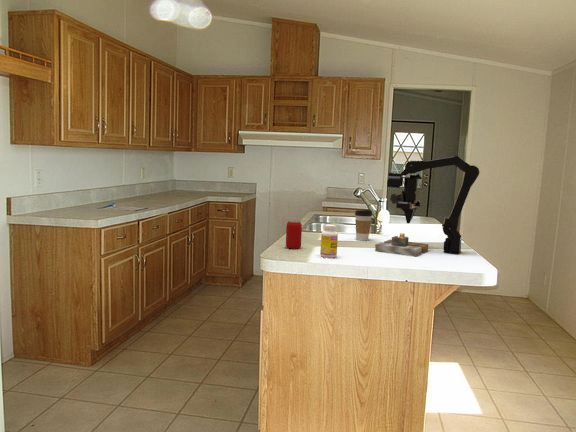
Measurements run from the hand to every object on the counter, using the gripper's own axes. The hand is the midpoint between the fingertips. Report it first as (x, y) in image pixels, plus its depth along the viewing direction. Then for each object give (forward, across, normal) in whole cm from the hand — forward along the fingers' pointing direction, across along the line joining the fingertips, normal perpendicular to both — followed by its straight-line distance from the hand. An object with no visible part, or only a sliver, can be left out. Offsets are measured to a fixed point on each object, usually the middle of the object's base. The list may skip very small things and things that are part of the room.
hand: (408, 223), depth 222 cm
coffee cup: (+12, -10, -26) cm, 30 cm away
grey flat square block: (+12, +6, 0) cm, 13 cm away
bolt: (+8, +7, 0) cm, 11 cm away
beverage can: (+12, +34, -40) cm, 53 cm away
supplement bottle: (+12, +40, -19) cm, 46 cm away
